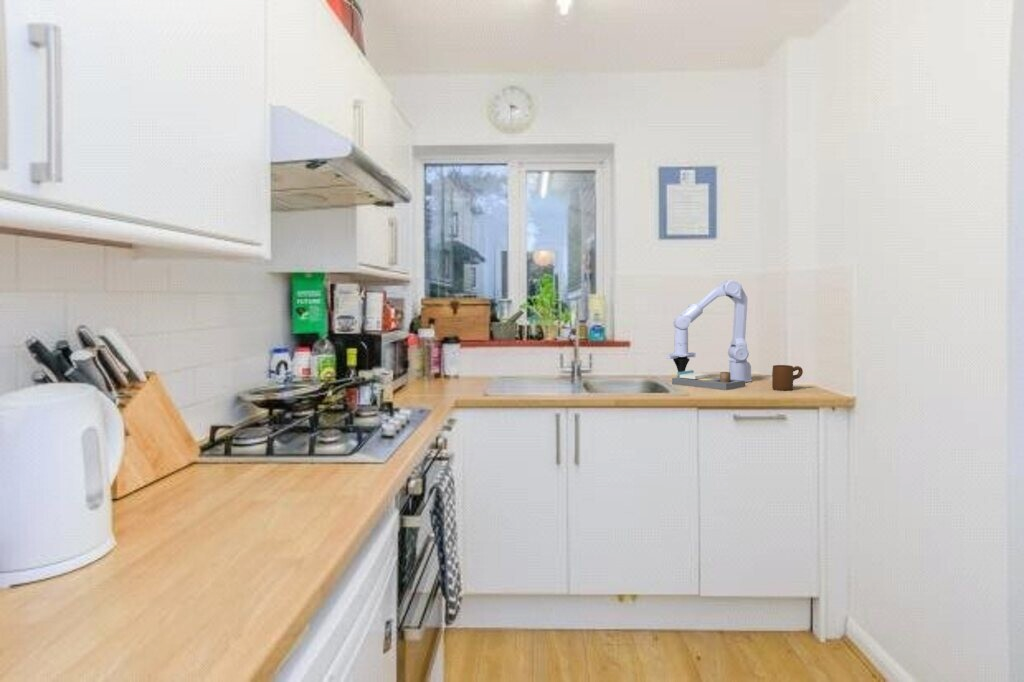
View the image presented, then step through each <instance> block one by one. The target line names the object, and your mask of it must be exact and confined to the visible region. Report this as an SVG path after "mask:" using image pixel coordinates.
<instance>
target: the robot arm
mask: <svg viewBox="0 0 1024 682" xmlns="http://www.w3.org/2000/svg"><path fill="white" fill-rule="evenodd" d="M746 294H747V293H745V291H744V289H743V286H742V284H741V283H739V282H738V281H736V280H735V279H731V280H730V279H729V280H723V281H721V282H720V284H718V285H716V286H715V287H714V288H713V289H712V290H711V291H709V292H708V293H707V294H706V295H705V296H704V297H703V298H702V299H701V300H699V302H697V303H695V302H694V303H692V304H688V308H686V309H685V310H684V311H682V312H680V313H679V314H680V315H677V316H676V317H675V318H674V320H673V321H672V324H673V328H674V352H673V353H667V354H666V359H667V360H673V361H672V362H673V363H674V365H675V367H676V369H677V372H682V371H686V368H687V365H689V362H690V358H696V356H697V355H696V352H689V327H690V325H691V323H693V322H695V321H696V319H698V318H699V317H700V316H701V315H702V314H703V311H704V308H706V307H707V306H708V305H709V304H711V303H712V302H713V301H714V300H716V299H717V298H719V297H723V296H725V297H728V298H729V299H730V300H731V301H732V302H733V303H734V309H733V325H732V339H731V342H730V346H729V348H728V350H727V355H728V356H729V360H728V361H729V365H728V366H729V368H728V372H730V373H731V374H730V379H735V380H745V383H748V382H753V381H754V380H753V379H752V365H751V363H750V362H749V361H748V357H749V356H750V355H749V353H750V352H749V350H748V343H747V341H746V334H747V333H746V330H747V329H746V328H747V312H748V296H747V295H746Z"/></svg>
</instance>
